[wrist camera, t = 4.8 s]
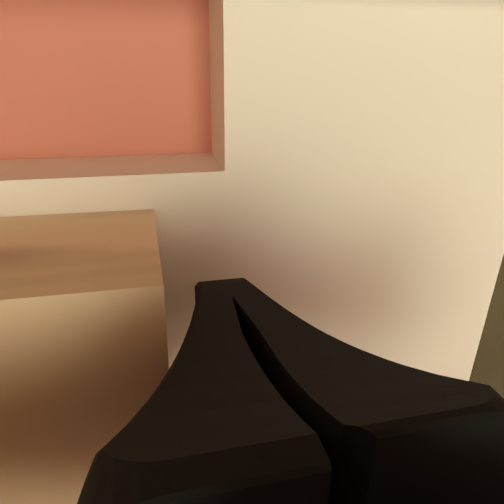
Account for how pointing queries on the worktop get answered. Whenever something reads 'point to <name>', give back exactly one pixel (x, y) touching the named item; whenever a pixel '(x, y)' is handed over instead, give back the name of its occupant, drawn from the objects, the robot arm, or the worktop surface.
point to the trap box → (277, 152)
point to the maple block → (74, 343)
